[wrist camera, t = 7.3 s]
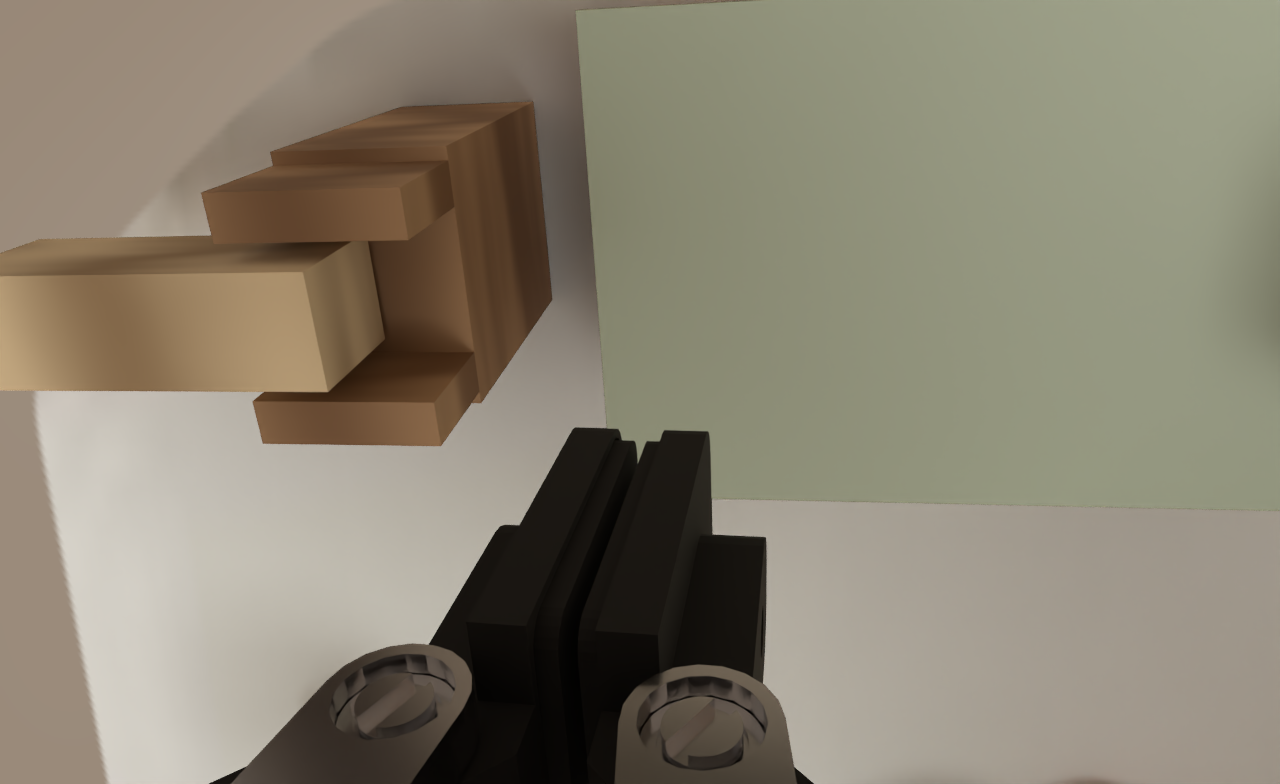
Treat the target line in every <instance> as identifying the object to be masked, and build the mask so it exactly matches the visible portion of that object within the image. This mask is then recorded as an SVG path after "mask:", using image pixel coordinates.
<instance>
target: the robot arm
mask: <svg viewBox="0 0 1280 784" xmlns="http://www.w3.org/2000/svg"><path fill="white" fill-rule="evenodd" d="M766 565H767V559H766V537H748V536H727V535H712V498H711V453H710V436H709V432H708V431H678V430H664V431H663V433H662V436H661V439H660V441H647V442H646V443H645V446H644V449H643V451H642V454H641V457H640V459H639V462H638V459H637V447H636V443H635V441H629V440H622V438H621V433H620V431H619V429H608V428H574V429H573V430H572V432H571V433H570V435H569V437H568V439H567V441H566V442H565V444H564V446H563V448H562V450H561V451H560V453H559V455H558V457H557V459H556V461H555V462H554V464H553V466H552V468H551V470H550V471H549V473H548V475H547V477H546V479H545V480H544V482H543V484H542V486H541V488H540V489H539V491H538V493H537V495H536V497H535V498H534V500H533V502H532V504H531V506H530V507H529V509H528V511H527V513H526V515H525V516H524V518H523V520H522V522H521V524H520V525H503V526H500V527H499V529H498V530H497V531H496V532H495V534H494V535H493V537H492V539H491V540H490V542H489V544H488V545H487V547H486V549H485V551H484V552H483V554H482V556H481V557H480V559H479V561H478V562H477V564H476V566H475V567H474V569H473V571H472V572H471V574H470V576H469V578H468V579H467V581H466V583H465V584H464V586H463V588H462V589H461V591H460V593H459V594H458V596H457V598H456V599H455V601H454V603H453V605H452V606H451V608H450V610H449V611H448V613H447V615H446V616H445V618H444V620H443V621H442V623H441V625H440V627H439V628H438V630H437V632H436V633H435V635H434V637H433V638H432V640H431V642H430V643H429V645H425V644H405V645H398V646H390V647H386V648H383V649H380V650H377V651H374V652H371V653H368V654H365V655H363V656H361V657H360V658H358V659H356V660H354V661H352V662H350V663H348V664H347V665H345V666H344V667H342V668H341V669H340V670H339V671H338V672H336V673H335V674H334V675H333V676H332V677H330V678H329V679H328V680H327V681H326V682H325V683H324V684H323V685H322V686H321V687H320V689H319V690H318V691H317V692H316V693H315V694H314V695H313V696H312V697H311V698H310V699H309V700H308V701H307V703H306V704H305V705H304V706H303V707H302V708H301V709H300V710H299V711H298V712H297V713H296V714H295V715H294V716H293V718H292V719H291V720H290V721H289V722H288V723H287V724H286V725H285V726H284V727H283V728H282V729H281V730H280V731H279V733H278V734H277V735H276V736H275V737H274V738H273V739H272V740H271V741H270V742H269V743H268V744H267V745H266V747H265V748H264V749H263V750H262V751H261V752H260V753H259V754H258V755H257V756H256V757H255V758H254V759H253V760H252V762H251V763H250V764H249V765H248V766H247V767H245V768H242V769H240V770H238V771H236V772H234V773H231V774H229V775H227V776H225V777H223V778H220V779H218V780H216V781H214V782H212V783H209V784H814V783H812V782H811V781H810V780H809V779H808V778H807V777H805V776H804V775H803V774H802V773H801V772H800V771H798V770H797V769H796V768H795V767H794V764H793V758H792V752H791V746H790V741H789V735H788V729H787V724H786V718H785V715H784V713H783V710H782V708H781V705H780V703H779V700H778V699H777V698H776V697H775V696H774V695H773V694H772V693H771V691H770V690H769V689H768V688H767V687H766V686H765V685H764V684H763V672H764V656H765V633H766Z"/></svg>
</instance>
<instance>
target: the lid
mask: <svg viewBox="0 0 1280 784" xmlns="http://www.w3.org/2000/svg"><path fill="white" fill-rule="evenodd" d="M576 25H577V38H578V51H579V65H580V78H581V91H582V104H583V118H584V131H585V144H586V158H587V171H588V184H589V198H590V211H591V224H592V237H593V251H594V264H595V277H596V291H597V304H598V317H599V330H600V344H601V357H602V370H603V384H604V397H605V410H606V424H607V428H608V429H619V431H620V433H621V438H622V440H629V441H635V443H636V447H637V459H638V462H639V459H640V457H641V454H642V451H643V449H644V446H645V443H646V442H647V441H660V439H661V436H662V433H663V431H664V430H678V431H708V432H709V436H710V453H711V498H712V499H750V500H796V501H842V502H888V503H934V504H981V505H1027V506H1073V507H1119V508H1166V509H1212V510H1258V511H1280V0H747V1H729V2H711V3H693V4H675V5H656V6H638V7H620V8H602V9H583V10H577V11H576Z"/></svg>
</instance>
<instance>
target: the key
mask: <svg viewBox="0 0 1280 784" xmlns="http://www.w3.org/2000/svg"><path fill="white" fill-rule="evenodd" d="M384 340H385V335H384V330H383V324H382V318H381V313H380V307H379V302H378V296H377V290H376V285H375V279H374V273H373V268H372V262H371V256H370V251H369V245H368V241H337V242H285V243H232V244H214V243H213V239H212V236H173V237H124V238H76V239H39V240H36V241H33V242H31V243H28V244H25V245H22V246H19V247H16V248H13V249H11V250H8V251H5V252H2V253H0V390H37V391H218V392H329V391H330V390H331V389H332V388H333V387H334V386H335V385H336V384H337V383H338V382H339V381H341V380H342V379H343V378H344V377H345V376H346V375H347V374H348V373H349V372H350V371H351V370H352V369H353V368H355V367H356V366H357V365H358V364H359V363H360V362H361V361H362V360H363V359H364V358H365V357H366V356H367V355H369V354H370V353H371V352H372V351H373V350H374V349H375V348H376V347H377V346H378V345H379V344H380V343H381V342H383V341H384Z"/></svg>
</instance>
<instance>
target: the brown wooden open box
mask: <svg viewBox="0 0 1280 784" xmlns="http://www.w3.org/2000/svg"><path fill="white" fill-rule="evenodd" d="M270 153H271V158H272V163H273V166H272V167H269V168H266V169H264V170H261V171H258V172H255V173H253V174H250V175H247V176H245V177H242V178H239V179H237V180H234V181H231V182H229V183H226V184H223V185H221V186H218V187H215V188H213V189H210V190H207V191H205V192H202V193H201V195H202V199H203V203H204V207H205V211H206V215H207V219H208V223H209V227H210V231H211V235H212V239H213V243H214V244H232V243H285V242H337V241H368V245H369V251H370V256H371V262H372V268H373V273H374V279H375V285H376V290H377V296H378V302H379V307H380V313H381V318H382V324H383V330H384V335H385V340H384V341H383V342H381V343H380V344H379V345H378V346H377V347H376V348H375V349H374V350H373V351H372V352H371V353H370V354H369V355H367V356H366V357H365V358H364V359H363V360H362V361H361V362H360V363H359V364H358V365H357V366H356V367H355V368H353V369H352V370H351V371H350V372H349V373H348V374H347V375H346V376H345V377H344V378H343V379H342V380H341V381H339V382H338V383H337V384H336V385H335V386H334V387H333V388H332V389H331V390H330V391H329V392H264V393H262V394H261V395H260V396H259V397H257V398H256V399H255V400H254V401H253V405H254V409H255V413H256V417H257V421H258V425H259V429H260V433H261V437H262V441H263V444H331V445H402V446H441V445H442V444H443V442H444V441H445V440H446V438H447V437H448V435H449V434H450V433H451V431H452V430H453V428H454V427H455V426H456V424H457V423H458V421H459V420H460V419H461V417H462V416H463V414H464V413H465V411H466V410H467V409H468V407H469V406H470V404H471V403H482V401H483V400H484V398H485V397H486V395H487V394H488V392H489V391H490V389H491V388H492V387H493V385H494V384H495V382H496V381H497V379H498V378H499V376H500V375H501V373H502V372H503V371H504V369H505V368H506V366H507V365H508V363H509V362H510V360H511V359H512V357H513V356H514V355H515V353H516V352H517V350H518V349H519V347H520V346H521V344H522V343H523V341H524V340H525V339H526V337H527V336H528V334H529V333H530V331H531V330H532V328H533V327H534V325H535V324H536V323H537V321H538V320H539V318H540V317H541V315H542V314H543V312H544V311H545V309H546V308H547V306H548V305H549V304H550V302H551V301H552V291H551V281H550V270H549V260H548V250H547V239H546V229H545V218H544V208H543V198H542V187H541V177H540V166H539V156H538V146H537V135H536V125H535V114H534V104H533V102H511V103H487V104H462V105H437V106H413V107H400V108H397V109H394V110H391V111H388V112H385V113H382V114H379V115H377V116H374V117H371V118H368V119H365V120H362V121H359V122H356V123H353V124H350V125H347V126H344V127H342V128H339V129H336V130H333V131H330V132H327V133H324V134H321V135H318V136H315V137H312V138H309V139H307V140H304V141H301V142H298V143H295V144H292V145H289V146H286V147H283V148H280V149H277V150H274V151H272V152H270Z"/></svg>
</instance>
